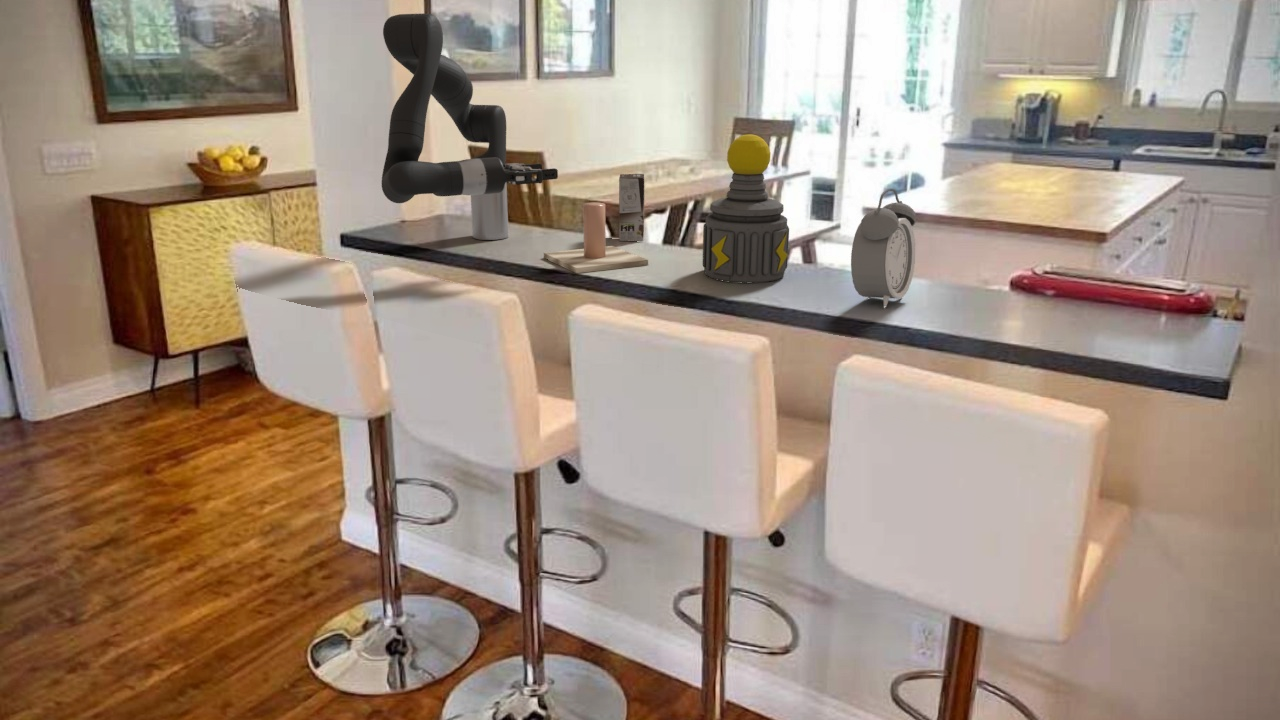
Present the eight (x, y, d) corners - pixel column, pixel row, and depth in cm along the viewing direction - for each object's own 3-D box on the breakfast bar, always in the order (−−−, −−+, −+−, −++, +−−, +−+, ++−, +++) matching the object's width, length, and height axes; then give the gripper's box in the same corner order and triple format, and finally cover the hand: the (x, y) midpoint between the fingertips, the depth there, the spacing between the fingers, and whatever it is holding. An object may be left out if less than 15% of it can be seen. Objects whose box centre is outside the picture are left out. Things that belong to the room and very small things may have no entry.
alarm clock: (886, 314, 178) (897, 196, 171) (842, 307, 183) (851, 192, 176) (915, 296, 191) (926, 185, 184) (874, 290, 196) (882, 182, 189)
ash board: (543, 257, 224) (543, 252, 224) (611, 250, 233) (611, 245, 232) (576, 273, 209) (576, 267, 209) (648, 264, 218) (648, 259, 217)
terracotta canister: (580, 255, 221) (579, 203, 217) (599, 253, 224) (599, 201, 220) (589, 259, 217) (589, 206, 213) (609, 257, 220) (609, 205, 216)
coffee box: (643, 241, 244) (644, 177, 239) (618, 241, 244) (618, 177, 239) (644, 234, 252) (644, 173, 247) (620, 234, 252) (619, 173, 247)
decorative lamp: (803, 273, 210) (812, 133, 201) (757, 289, 196) (763, 140, 187) (732, 261, 222) (737, 128, 212) (683, 275, 208) (686, 134, 198)
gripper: (489, 162, 195) (562, 157, 202) (466, 154, 207) (535, 149, 214) (491, 199, 197) (563, 192, 205) (468, 189, 209) (536, 183, 216)
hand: (549, 170), depth 209 cm, fingers open, 8 cm apart
